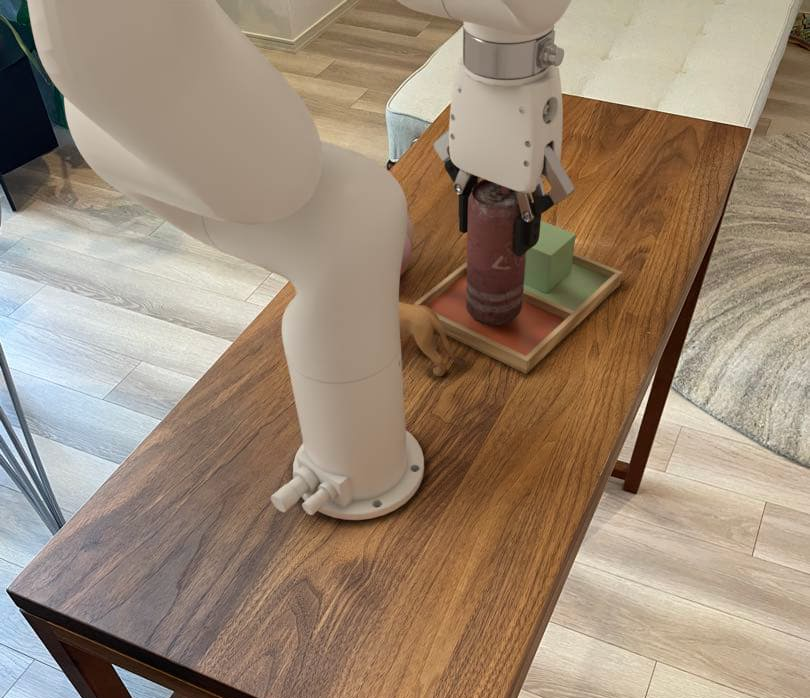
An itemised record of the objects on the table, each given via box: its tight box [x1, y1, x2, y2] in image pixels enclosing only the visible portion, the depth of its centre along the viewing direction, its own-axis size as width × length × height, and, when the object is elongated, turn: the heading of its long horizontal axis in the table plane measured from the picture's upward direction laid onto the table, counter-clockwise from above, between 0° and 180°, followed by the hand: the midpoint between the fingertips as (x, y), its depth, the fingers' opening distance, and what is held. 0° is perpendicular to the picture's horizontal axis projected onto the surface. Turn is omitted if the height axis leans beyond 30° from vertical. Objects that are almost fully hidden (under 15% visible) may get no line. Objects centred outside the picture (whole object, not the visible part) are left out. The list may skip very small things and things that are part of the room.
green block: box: [524, 220, 577, 293], centre depth 95 cm, size 5×5×5 cm
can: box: [466, 179, 526, 325], centre depth 86 cm, size 6×6×14 cm
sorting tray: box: [412, 252, 623, 375], centre depth 94 cm, size 19×16×2 cm
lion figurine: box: [399, 300, 467, 377], centre depth 87 cm, size 15×5×9 cm, turn 72°
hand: (497, 236), depth 84 cm, fingers closed on can, 6 cm apart
